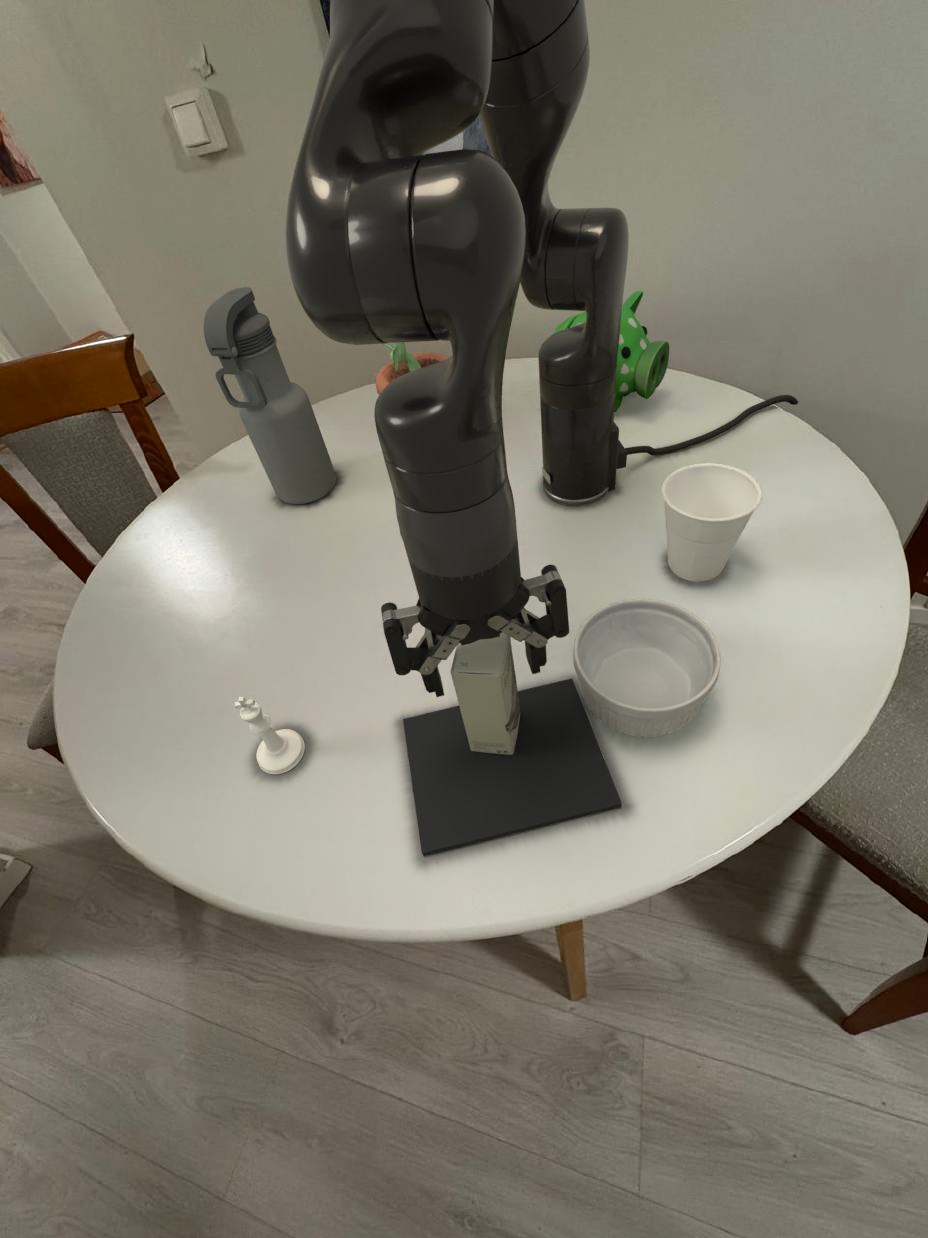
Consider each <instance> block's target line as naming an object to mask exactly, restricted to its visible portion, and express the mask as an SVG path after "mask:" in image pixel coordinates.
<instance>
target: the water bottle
mask: <svg viewBox="0 0 928 1238" xmlns="http://www.w3.org/2000/svg"><path fill="white" fill-rule="evenodd" d="M255 300H256V297H255V295H254V291H253V290H252V288H251V287H250V286H242V287H236V288H234V289H231V290H229V291H226V292H225V293H224V294H223V295H222V296H220V297H219V298H218V299H216V300H215V301H214V302H212V303H211V304H210V305H209V307H208V308H207V309H206V312H205V314H204V318H203V337H204V341H205V345H206V347H207V350H208V351H209V354H210V355H211V356H212V357H217V358H218V359H219V361H220V364H221V366H222V367H221V368H219V369H218V370H217V371H216V372H215V379H216V381H217V383H218V385H219V387H220V390H221V391H222V394H223V396H224V398H225V400H226V401H227V403H228V404H229V405H230V406H232V407H234V408H238V413H239V418H240V420H241V422H242V424H243V426H244V428H245V430H246V433H247V435H248V437H249V439H250V441H251V443H252V446H253V448H254V450H255V453H256V454H257V456H258V459H259V461H260V463H261V465H262V467H263V469H264V471H265V474H266V476H267V478H268V480H269V482H270V484H271V487H272V489H273V491H274V493H275V495H276V496H277V498H278V499H279V500H281V501H282V502H284V503H287V504H291V505H304V504H305V505H306V504H309V503H312V502H315V501H317V500H319V499H322V498H323V497H325V496H326V495H328V494H329V493H330V492H331V491H332V489H333V488H334V487H335V485H336V481H337V473H336V471H335V467H334V465H333V463H332V459H331V456H330V454H329V451H328V449H327V445H326V442H325V439H324V437H323V435H322V432H321V429H320V426H319V423H318V420H317V417H316V415H315V412H314V409H313V407H312V404H311V401H310V398H309V395H308V394H307V391H306V390H305V389H304V387H302V386H301V385H300V384H298V383H296V382H293V381H291V380H290V378H289V375H288V373H287V369H286V367H285V364H284V361H283V359H282V357H281V353H280V351H279V348H278V346H277V342H278V341H277V337H276V336H275V335H274V333H273V330H272V327H271V322H270V319H269V317H268V316H267V315H266V314H265V313H261V312H259V311H258V309H257V307H256V304H255ZM225 375H234V377H235V380H236V381H237V383H238V386H239V389H240V391H241V392H242V395H243V397H242V398H241V400H240V401H239V400H238V399H236V398H235V397H234V396H233V395H232V393H231V391H230V389H229V387H228V384H227V382H226V380H225V377H224V376H225Z"/></svg>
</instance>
